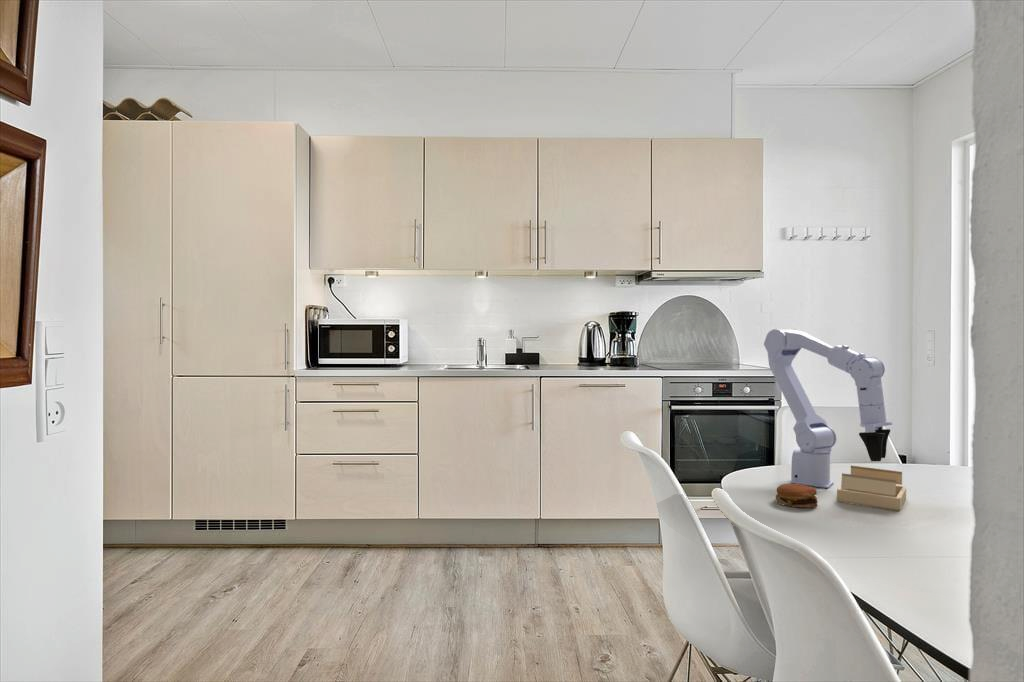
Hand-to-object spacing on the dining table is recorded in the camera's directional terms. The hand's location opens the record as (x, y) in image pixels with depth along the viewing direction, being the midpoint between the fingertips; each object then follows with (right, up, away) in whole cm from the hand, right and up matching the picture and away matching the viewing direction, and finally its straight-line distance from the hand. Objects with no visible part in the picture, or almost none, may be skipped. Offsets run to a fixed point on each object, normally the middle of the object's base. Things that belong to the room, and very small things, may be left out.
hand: (878, 459), depth 165 cm
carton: (-2, -10, -1) cm, 10 cm away
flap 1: (+2, -7, +4) cm, 8 cm away
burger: (-22, -10, -5) cm, 25 cm away
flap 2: (-6, -7, -7) cm, 11 cm away
